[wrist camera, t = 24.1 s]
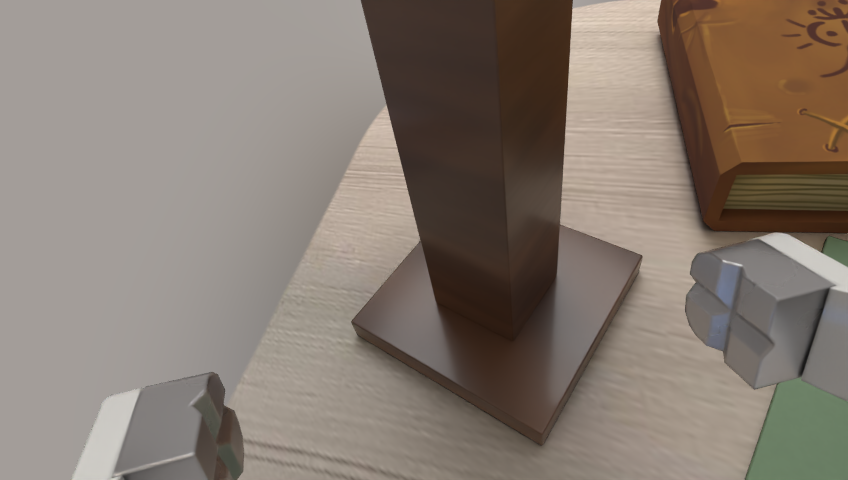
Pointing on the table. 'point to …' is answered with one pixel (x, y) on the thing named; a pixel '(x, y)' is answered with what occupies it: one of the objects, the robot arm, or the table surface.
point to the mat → (804, 424)
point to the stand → (489, 208)
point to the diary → (763, 109)
